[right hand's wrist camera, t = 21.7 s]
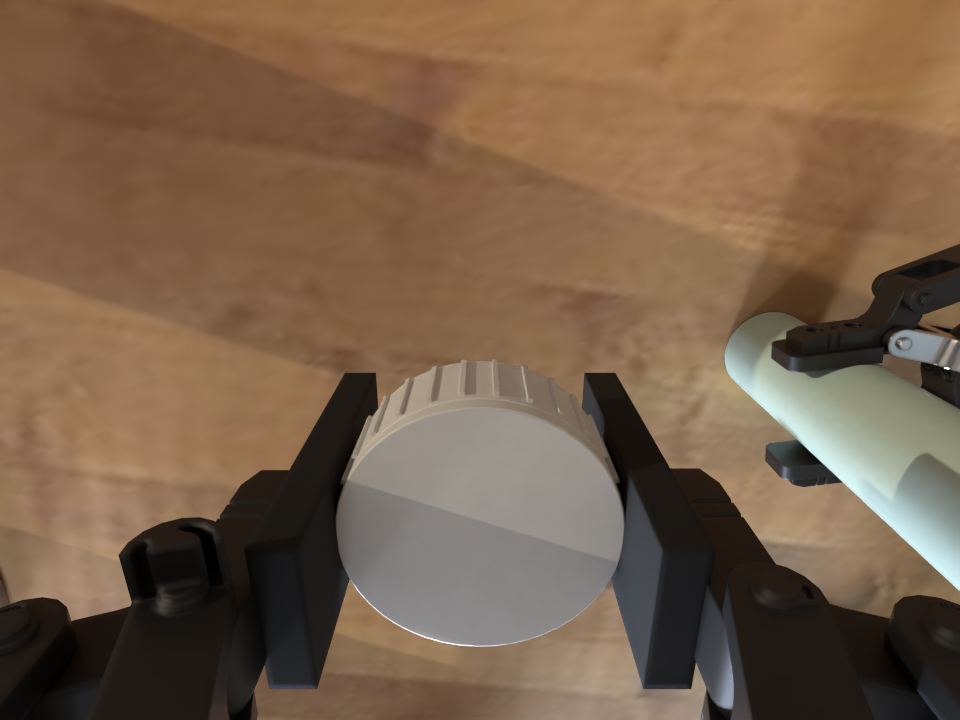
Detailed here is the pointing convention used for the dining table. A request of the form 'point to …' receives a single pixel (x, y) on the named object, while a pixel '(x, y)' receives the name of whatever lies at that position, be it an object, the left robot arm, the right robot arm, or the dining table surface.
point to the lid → (480, 506)
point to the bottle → (865, 435)
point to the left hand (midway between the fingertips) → (777, 411)
